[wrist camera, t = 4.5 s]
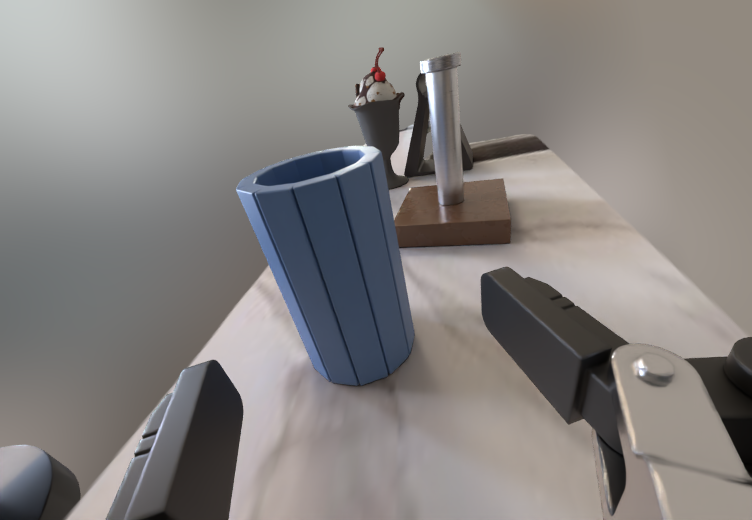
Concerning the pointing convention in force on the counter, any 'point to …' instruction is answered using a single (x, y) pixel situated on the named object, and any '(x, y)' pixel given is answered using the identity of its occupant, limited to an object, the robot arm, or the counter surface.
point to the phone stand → (418, 139)
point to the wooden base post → (451, 179)
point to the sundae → (380, 117)
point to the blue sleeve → (335, 258)
